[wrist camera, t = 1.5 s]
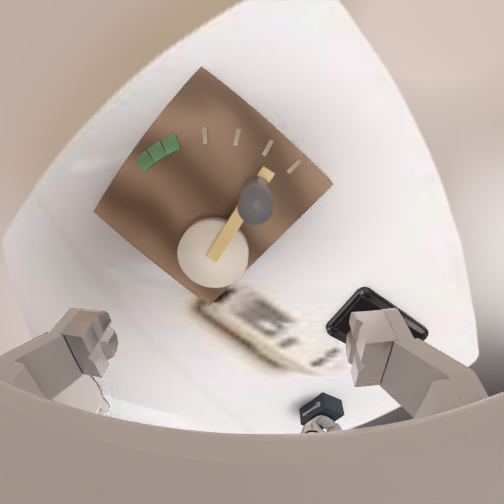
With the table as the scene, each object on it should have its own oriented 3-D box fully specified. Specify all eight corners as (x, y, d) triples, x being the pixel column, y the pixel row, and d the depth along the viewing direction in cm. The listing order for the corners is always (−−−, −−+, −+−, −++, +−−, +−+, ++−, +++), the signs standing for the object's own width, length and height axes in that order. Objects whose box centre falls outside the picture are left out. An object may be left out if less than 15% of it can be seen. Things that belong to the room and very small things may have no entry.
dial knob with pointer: (227, 290, 33) (217, 340, 25) (170, 258, 31) (145, 301, 24) (299, 186, 28) (314, 211, 20) (236, 146, 27) (226, 155, 19)
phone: (364, 287, 33) (431, 333, 36) (361, 282, 34) (428, 328, 37) (322, 332, 36) (394, 369, 39) (321, 327, 37) (392, 364, 40)
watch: (313, 388, 42) (322, 448, 32) (348, 403, 44) (360, 457, 34) (290, 406, 44) (293, 463, 34) (324, 419, 45) (332, 471, 35)
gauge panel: (211, 298, 35) (209, 306, 34) (99, 207, 31) (92, 212, 30) (330, 181, 29) (334, 184, 28) (204, 69, 25) (200, 66, 23)
